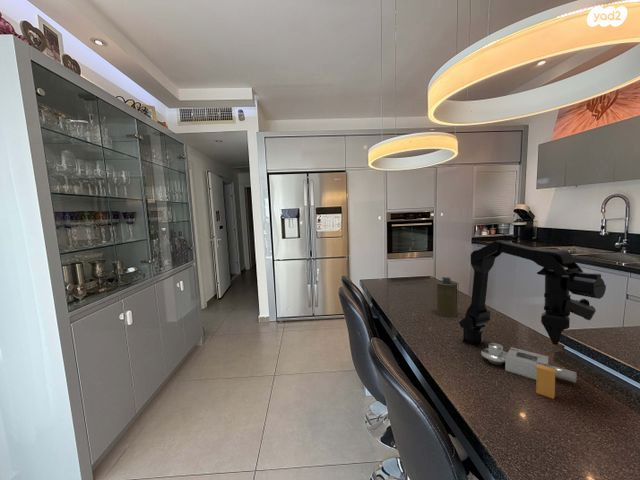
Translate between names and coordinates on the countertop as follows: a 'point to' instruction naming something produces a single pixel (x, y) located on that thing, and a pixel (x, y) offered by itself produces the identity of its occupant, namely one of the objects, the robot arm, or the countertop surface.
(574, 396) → the countertop surface
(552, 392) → the wedge
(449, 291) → the canister
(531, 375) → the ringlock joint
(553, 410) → the countertop surface
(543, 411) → the countertop surface
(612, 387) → the countertop surface
